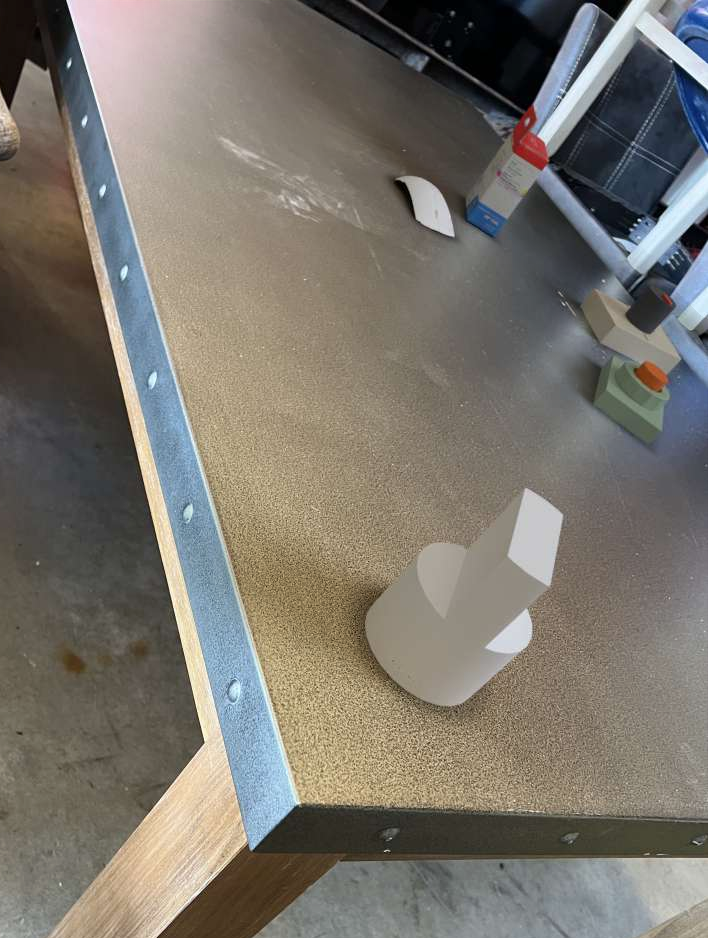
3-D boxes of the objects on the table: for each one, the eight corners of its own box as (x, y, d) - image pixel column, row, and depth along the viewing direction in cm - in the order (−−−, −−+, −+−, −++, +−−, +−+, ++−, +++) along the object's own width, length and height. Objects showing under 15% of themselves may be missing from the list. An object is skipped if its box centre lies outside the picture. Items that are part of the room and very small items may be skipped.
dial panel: (643, 339, 136) (659, 321, 134) (665, 376, 130) (682, 358, 128) (579, 305, 132) (595, 287, 130) (599, 343, 126) (616, 323, 124)
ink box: (494, 239, 132) (566, 141, 123) (464, 220, 131) (535, 119, 122) (492, 216, 138) (560, 121, 129) (463, 198, 137) (531, 101, 128)
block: (601, 368, 120) (624, 343, 117) (652, 406, 120) (676, 382, 118) (592, 404, 111) (617, 377, 108) (648, 445, 111) (674, 420, 108)
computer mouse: (417, 223, 120) (428, 207, 119) (388, 173, 127) (398, 157, 126) (458, 241, 124) (469, 225, 122) (427, 191, 131) (437, 176, 129)
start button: (634, 368, 114) (644, 356, 113) (658, 386, 115) (669, 375, 113) (632, 378, 112) (643, 367, 110) (657, 397, 112) (668, 386, 111)
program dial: (620, 308, 130) (646, 278, 127) (644, 319, 132) (670, 291, 128) (632, 326, 127) (659, 297, 124) (656, 338, 129) (683, 309, 126)
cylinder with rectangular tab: (463, 730, 62) (592, 619, 54) (349, 651, 62) (463, 527, 54) (484, 649, 69) (601, 540, 61) (382, 577, 69) (487, 458, 61)
